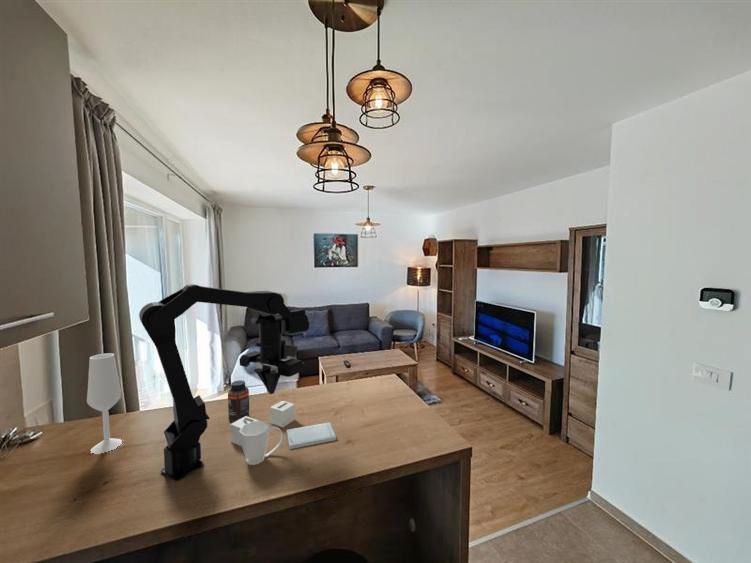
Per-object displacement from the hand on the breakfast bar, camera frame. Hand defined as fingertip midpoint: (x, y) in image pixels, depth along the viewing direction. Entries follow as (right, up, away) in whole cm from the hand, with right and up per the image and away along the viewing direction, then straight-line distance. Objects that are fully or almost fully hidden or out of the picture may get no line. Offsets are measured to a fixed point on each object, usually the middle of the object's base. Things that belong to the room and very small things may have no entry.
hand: (271, 393), depth 86 cm
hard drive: (+11, -13, +1) cm, 17 cm away
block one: (+1, -12, +8) cm, 14 cm away
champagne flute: (-41, -12, -4) cm, 43 cm away
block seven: (-7, -12, -1) cm, 14 cm away
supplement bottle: (-13, -12, +10) cm, 20 cm away
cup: (+1, -13, -9) cm, 16 cm away
